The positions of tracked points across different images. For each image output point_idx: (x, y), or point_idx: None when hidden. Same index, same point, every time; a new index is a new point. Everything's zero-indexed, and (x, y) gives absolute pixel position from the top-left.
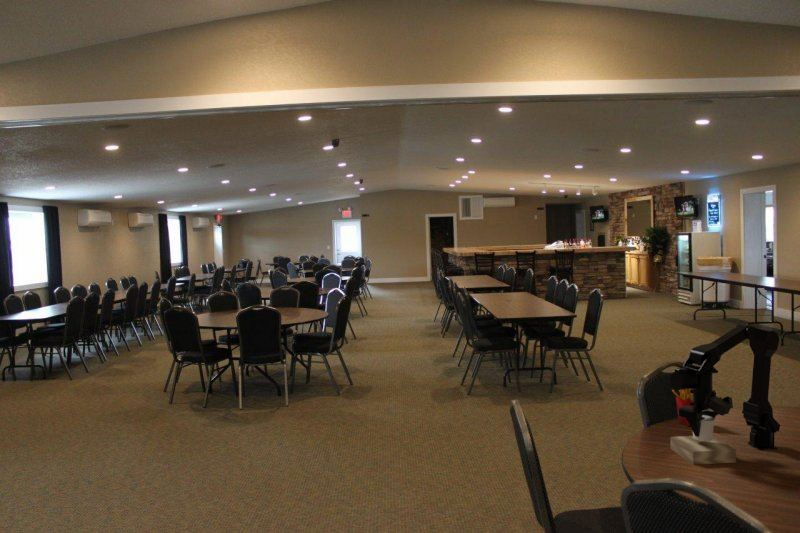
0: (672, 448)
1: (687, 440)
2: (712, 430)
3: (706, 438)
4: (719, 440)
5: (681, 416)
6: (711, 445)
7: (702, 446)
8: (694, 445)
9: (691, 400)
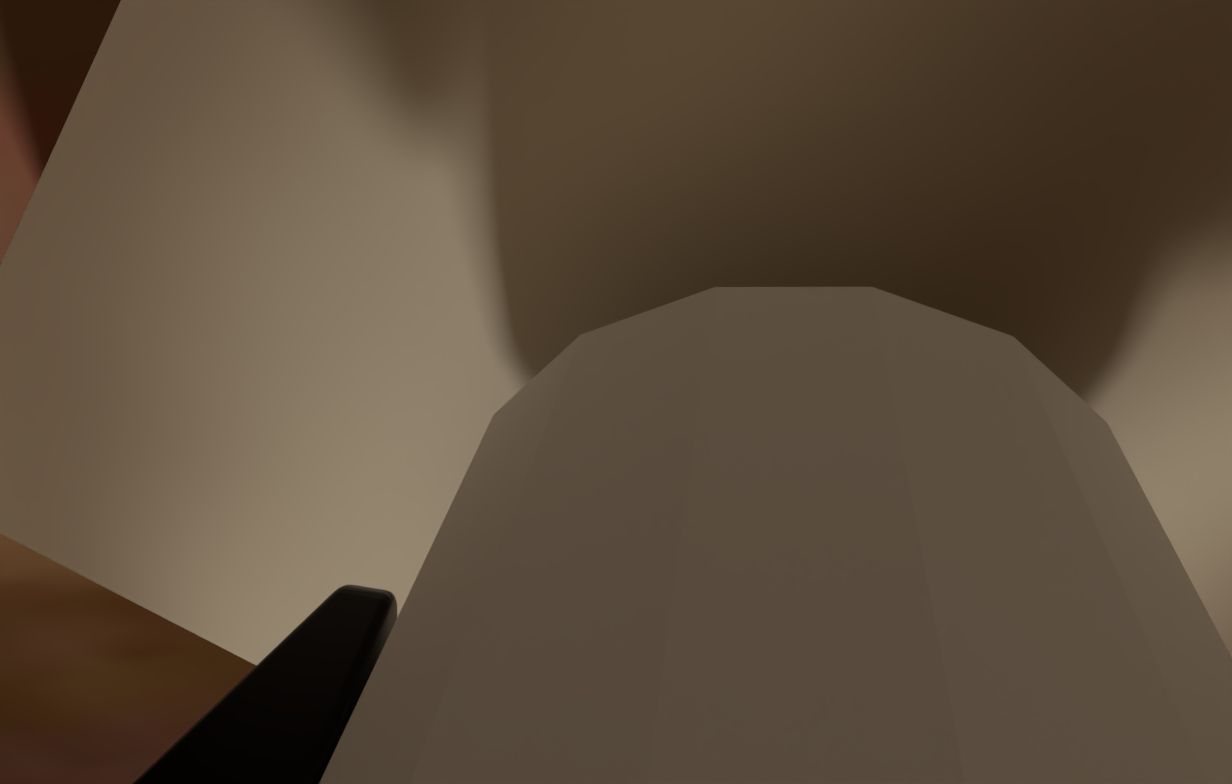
0: None
1: None
2: (844, 621)
3: (1115, 475)
4: (80, 152)
5: None
6: (852, 173)
7: (1171, 356)
8: (1206, 539)
9: None
